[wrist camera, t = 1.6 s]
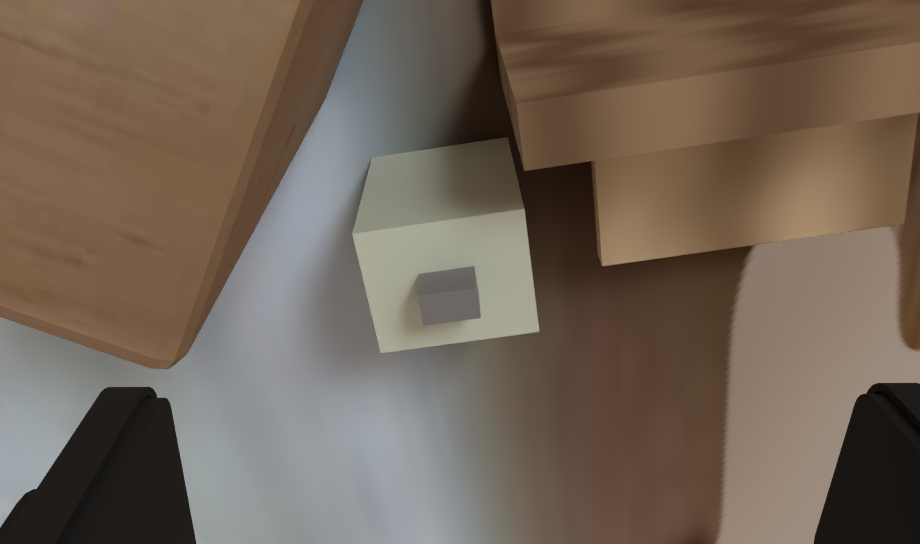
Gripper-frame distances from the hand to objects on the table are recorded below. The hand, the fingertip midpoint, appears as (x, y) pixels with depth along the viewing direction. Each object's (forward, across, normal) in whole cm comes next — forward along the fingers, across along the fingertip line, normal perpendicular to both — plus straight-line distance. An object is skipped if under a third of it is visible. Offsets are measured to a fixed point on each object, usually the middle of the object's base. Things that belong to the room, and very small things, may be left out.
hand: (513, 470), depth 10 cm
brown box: (+24, -10, -3) cm, 26 cm away
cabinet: (+24, 0, +5) cm, 25 cm away
